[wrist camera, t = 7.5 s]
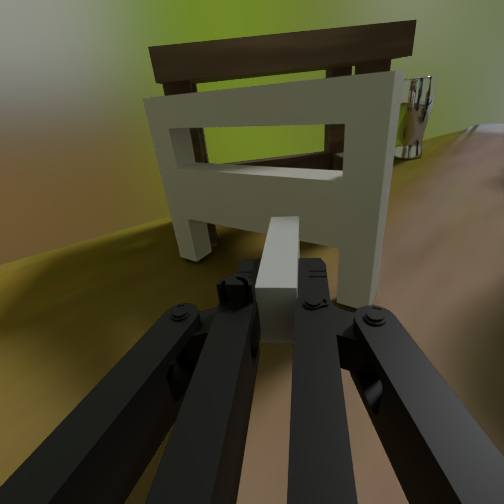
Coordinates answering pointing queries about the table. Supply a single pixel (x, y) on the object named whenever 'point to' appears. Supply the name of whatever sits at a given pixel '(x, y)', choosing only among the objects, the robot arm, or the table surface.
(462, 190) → the table surface
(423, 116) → the beer glass
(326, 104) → the gate leg
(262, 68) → the stool
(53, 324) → the table surface
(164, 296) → the table surface
